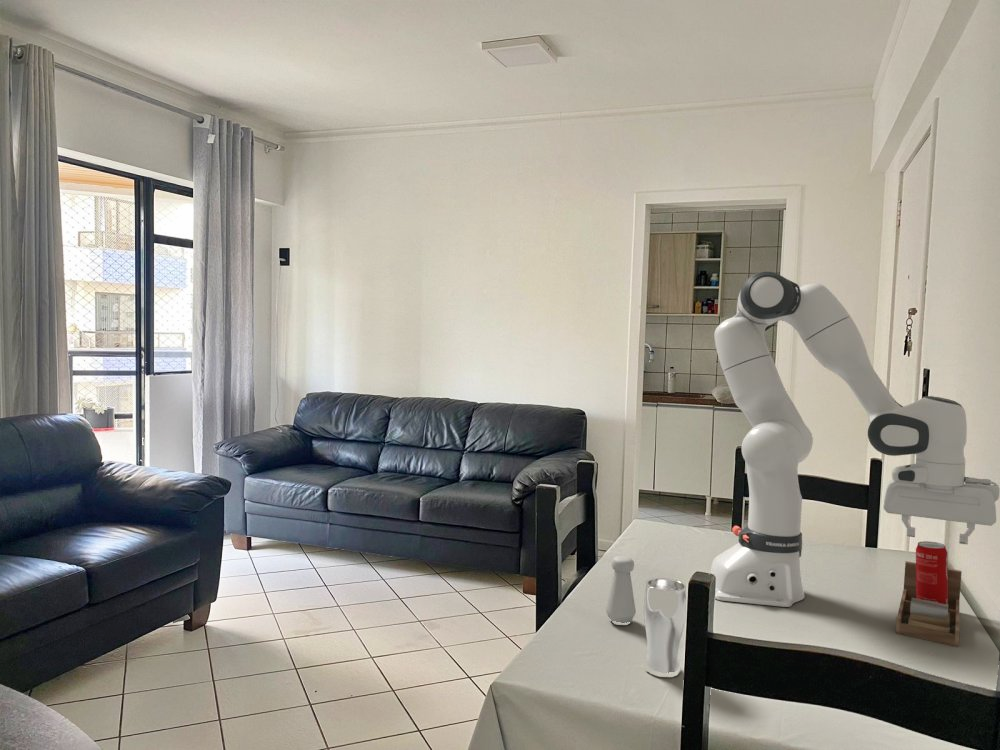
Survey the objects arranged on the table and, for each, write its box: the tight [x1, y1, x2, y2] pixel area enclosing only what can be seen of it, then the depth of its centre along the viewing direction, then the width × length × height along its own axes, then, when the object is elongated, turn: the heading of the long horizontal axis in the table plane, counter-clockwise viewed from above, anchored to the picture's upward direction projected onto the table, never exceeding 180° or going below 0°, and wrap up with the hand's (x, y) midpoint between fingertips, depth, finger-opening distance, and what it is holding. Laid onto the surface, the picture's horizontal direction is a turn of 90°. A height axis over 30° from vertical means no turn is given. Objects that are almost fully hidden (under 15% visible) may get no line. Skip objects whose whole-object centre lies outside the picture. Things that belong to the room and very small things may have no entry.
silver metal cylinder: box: [907, 598, 951, 633], centre depth 146 cm, size 5×7×5 cm
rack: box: [895, 560, 962, 647], centre depth 148 cm, size 21×10×9 cm, turn 147°
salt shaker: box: [605, 555, 637, 623], centre depth 143 cm, size 6×6×13 cm
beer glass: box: [643, 577, 687, 673], centre depth 123 cm, size 7×7×15 cm
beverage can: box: [915, 540, 949, 605], centre depth 153 cm, size 6×6×15 cm
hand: (936, 539), depth 152 cm, fingers open, 8 cm apart
